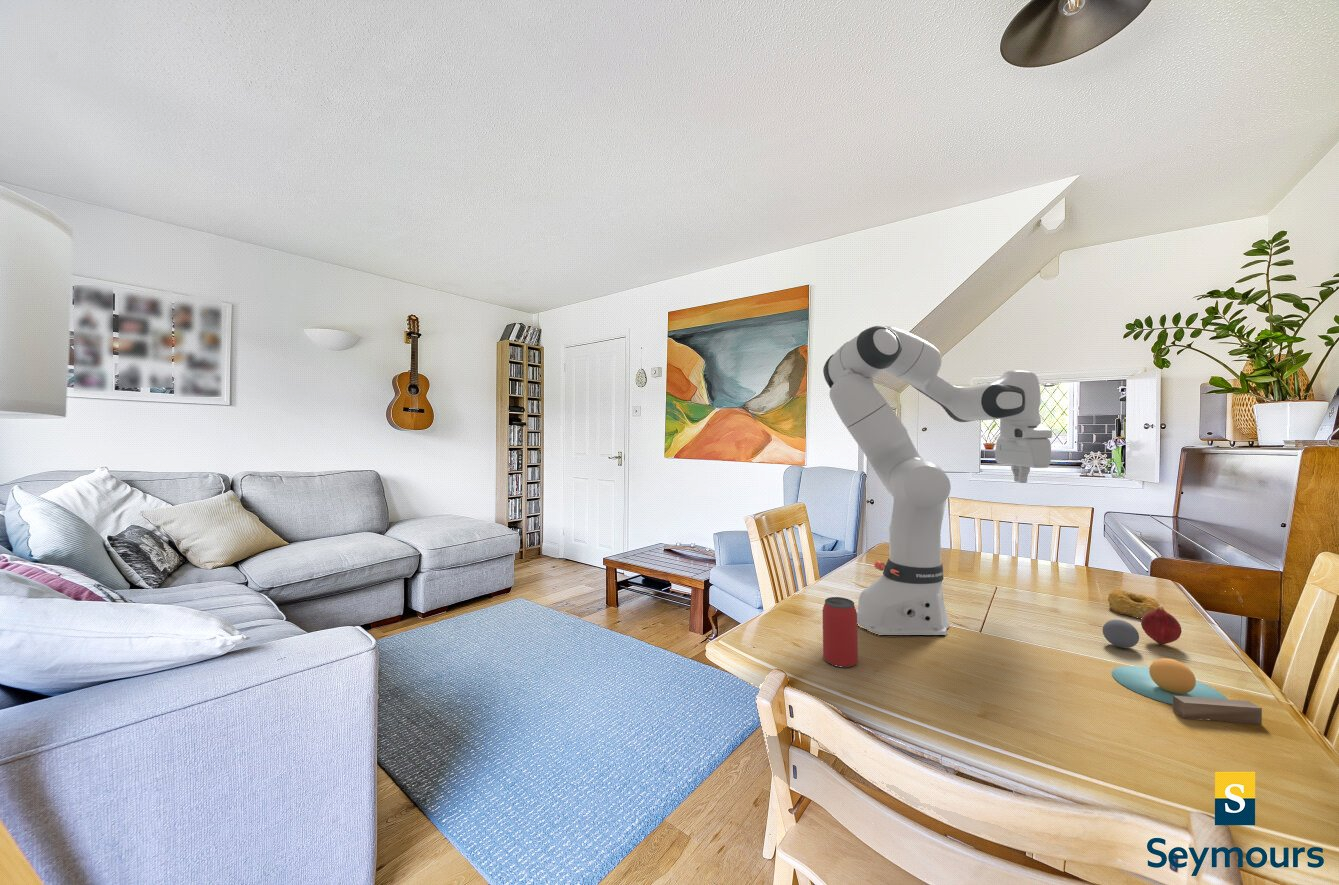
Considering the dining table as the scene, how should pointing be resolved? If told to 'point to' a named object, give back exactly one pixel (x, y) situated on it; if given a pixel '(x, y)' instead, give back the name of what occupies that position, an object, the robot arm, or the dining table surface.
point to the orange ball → (1172, 676)
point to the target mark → (1144, 685)
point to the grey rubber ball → (1120, 633)
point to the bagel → (1131, 603)
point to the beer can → (840, 632)
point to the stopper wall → (1217, 709)
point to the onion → (1161, 626)
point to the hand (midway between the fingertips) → (1020, 482)
